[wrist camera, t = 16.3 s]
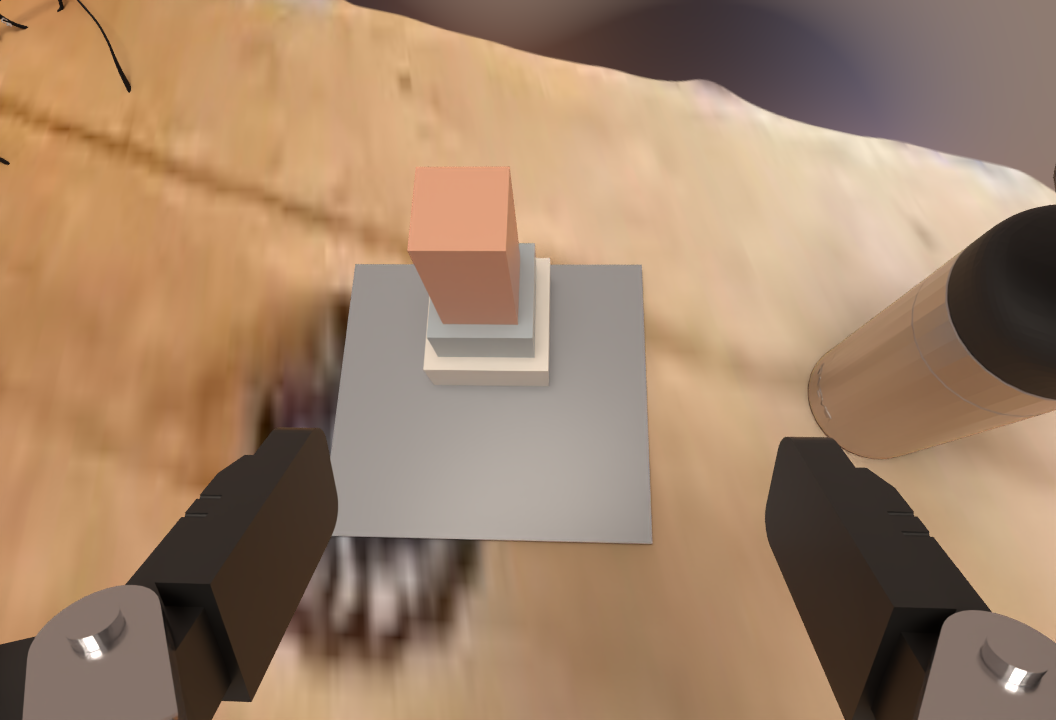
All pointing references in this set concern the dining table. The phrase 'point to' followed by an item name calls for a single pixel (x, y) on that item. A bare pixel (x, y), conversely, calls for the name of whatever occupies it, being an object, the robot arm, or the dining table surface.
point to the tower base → (499, 365)
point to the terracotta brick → (466, 243)
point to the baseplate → (495, 422)
